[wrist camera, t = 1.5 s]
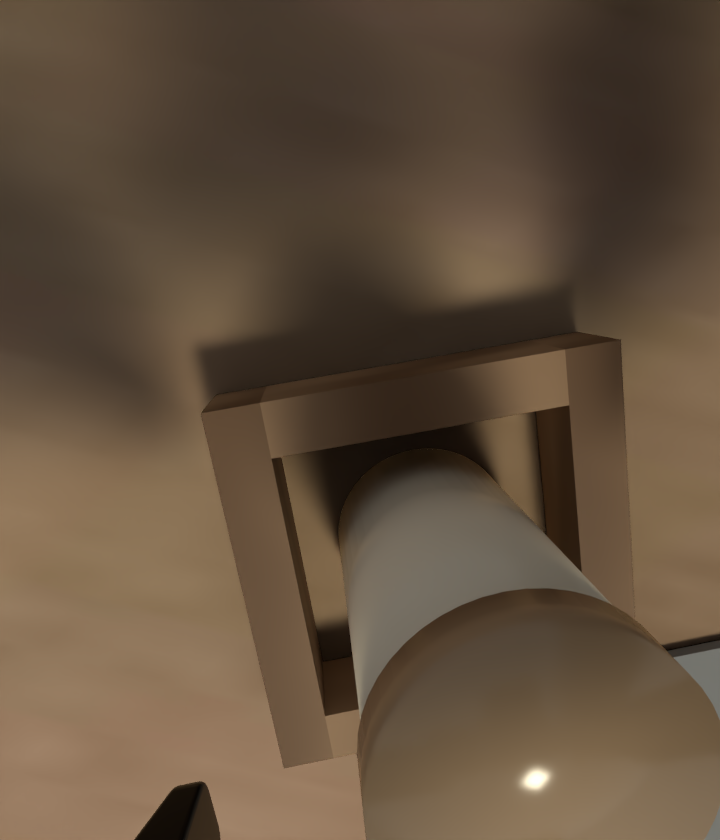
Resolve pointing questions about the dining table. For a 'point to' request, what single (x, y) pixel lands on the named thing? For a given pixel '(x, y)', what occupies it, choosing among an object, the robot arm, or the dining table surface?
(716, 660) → the mat
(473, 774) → the jar
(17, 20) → the dining table surface
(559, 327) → the dining table surface
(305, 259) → the dining table surface
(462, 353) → the pocket frame
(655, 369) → the dining table surface
